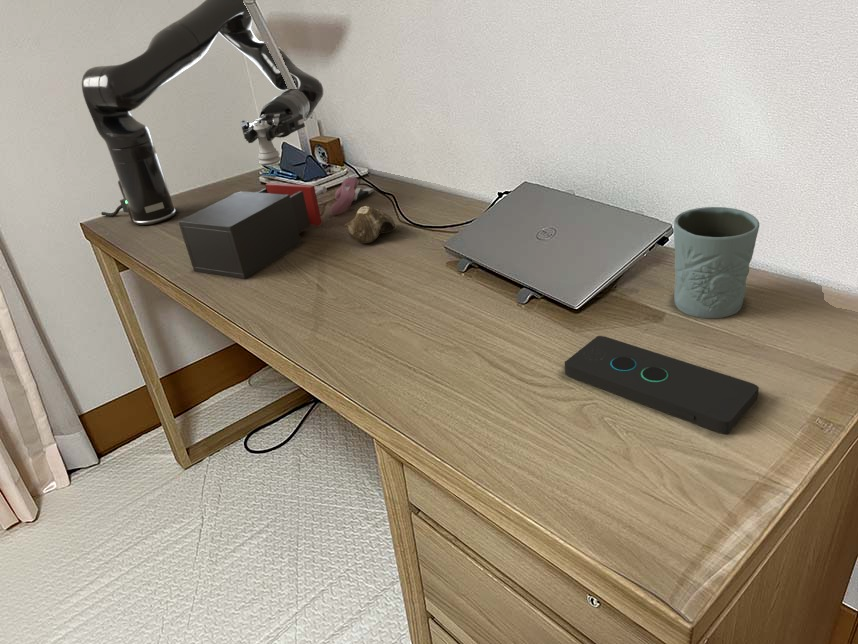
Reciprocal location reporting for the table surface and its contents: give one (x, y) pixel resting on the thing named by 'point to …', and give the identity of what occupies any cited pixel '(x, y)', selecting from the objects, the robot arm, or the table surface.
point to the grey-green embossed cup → (712, 260)
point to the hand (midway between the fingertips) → (258, 136)
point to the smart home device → (664, 383)
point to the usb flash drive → (362, 193)
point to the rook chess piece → (265, 146)
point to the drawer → (300, 202)
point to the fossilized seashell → (369, 224)
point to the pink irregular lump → (345, 196)
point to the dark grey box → (240, 233)
